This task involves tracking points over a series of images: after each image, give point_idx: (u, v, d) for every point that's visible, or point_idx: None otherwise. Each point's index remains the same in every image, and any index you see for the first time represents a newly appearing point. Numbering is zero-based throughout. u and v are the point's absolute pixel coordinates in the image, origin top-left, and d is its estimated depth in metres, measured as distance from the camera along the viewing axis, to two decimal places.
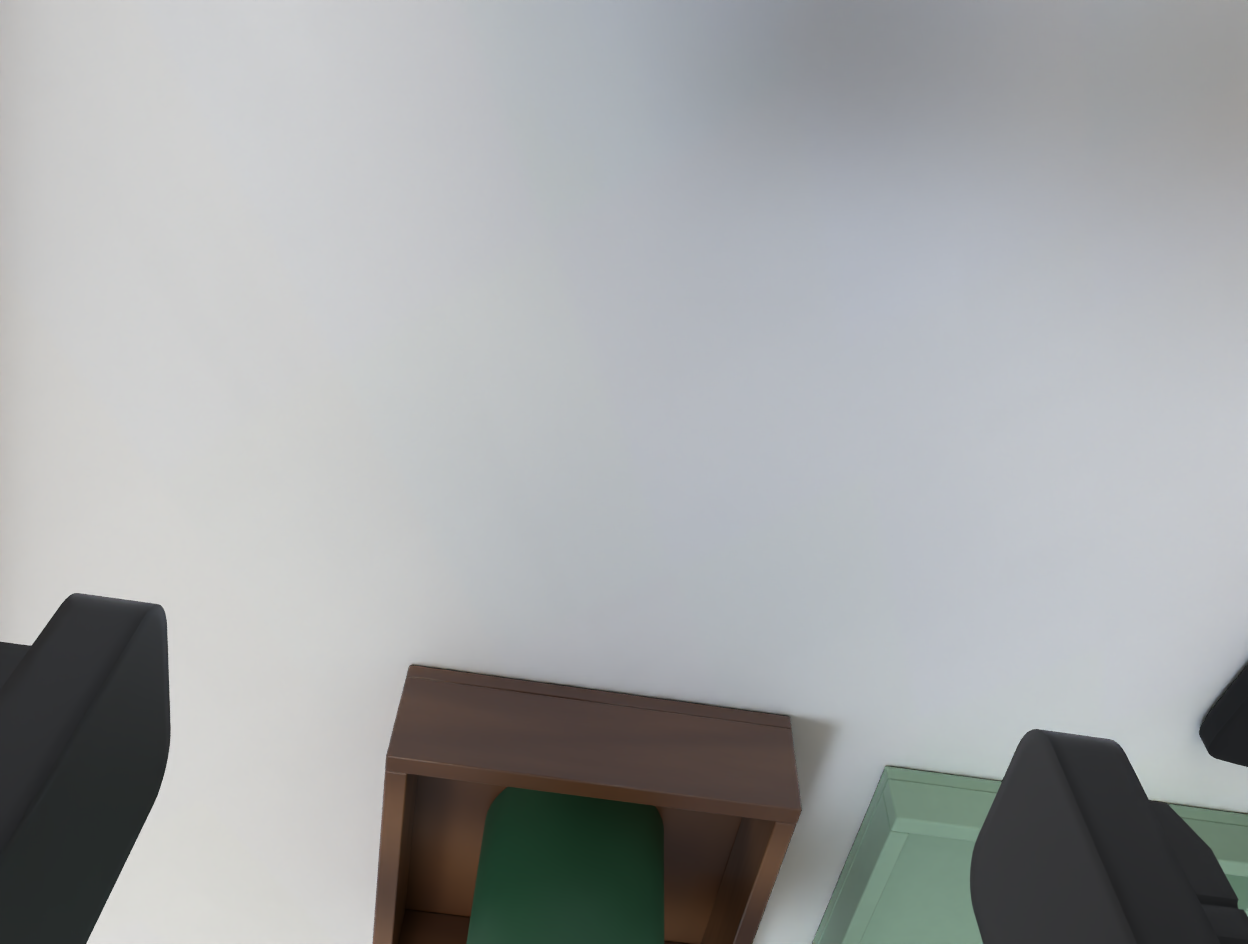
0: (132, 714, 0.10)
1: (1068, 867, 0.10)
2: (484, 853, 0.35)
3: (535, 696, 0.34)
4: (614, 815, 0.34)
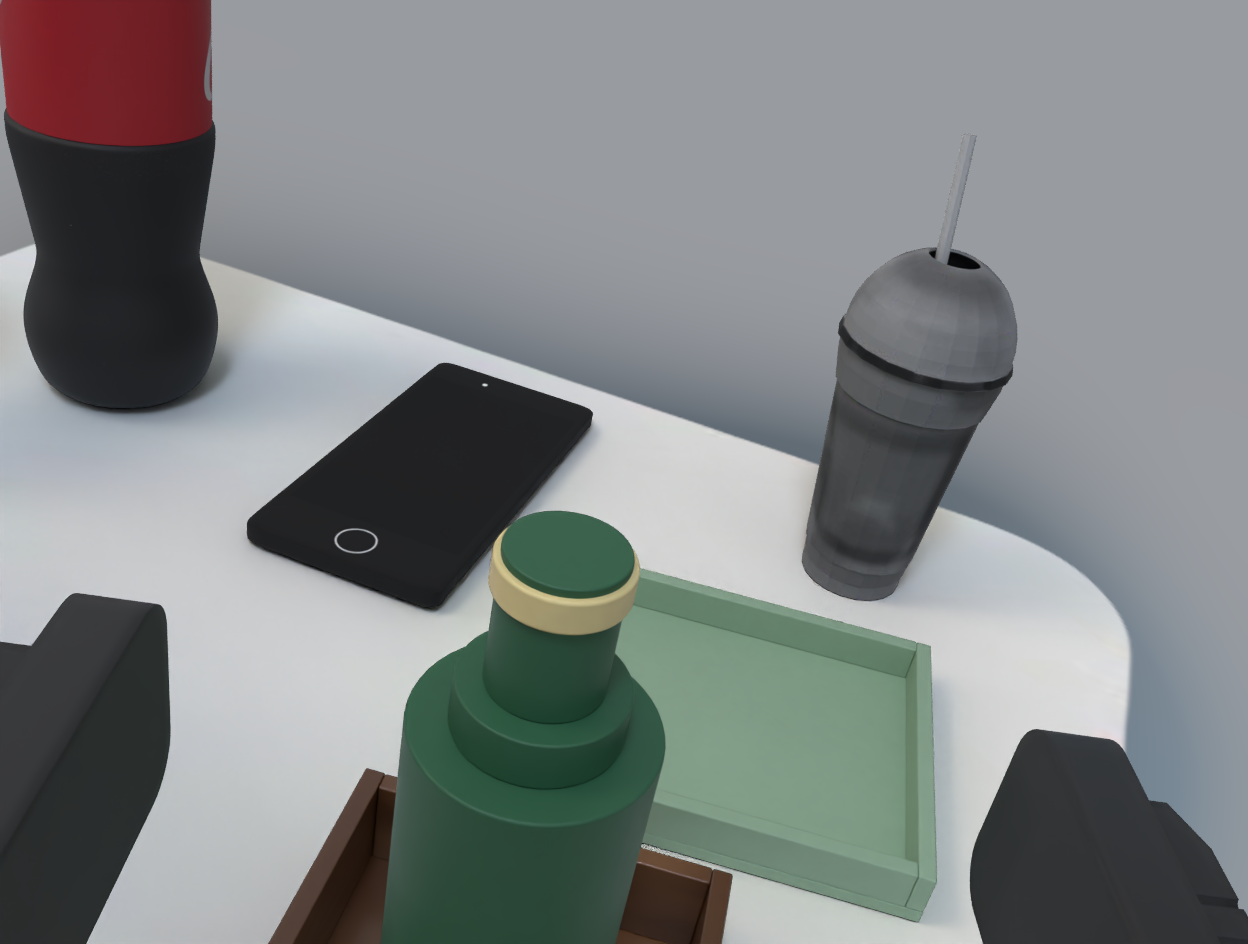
0: (132, 714, 0.10)
1: (1068, 867, 0.10)
2: None
3: None
4: None
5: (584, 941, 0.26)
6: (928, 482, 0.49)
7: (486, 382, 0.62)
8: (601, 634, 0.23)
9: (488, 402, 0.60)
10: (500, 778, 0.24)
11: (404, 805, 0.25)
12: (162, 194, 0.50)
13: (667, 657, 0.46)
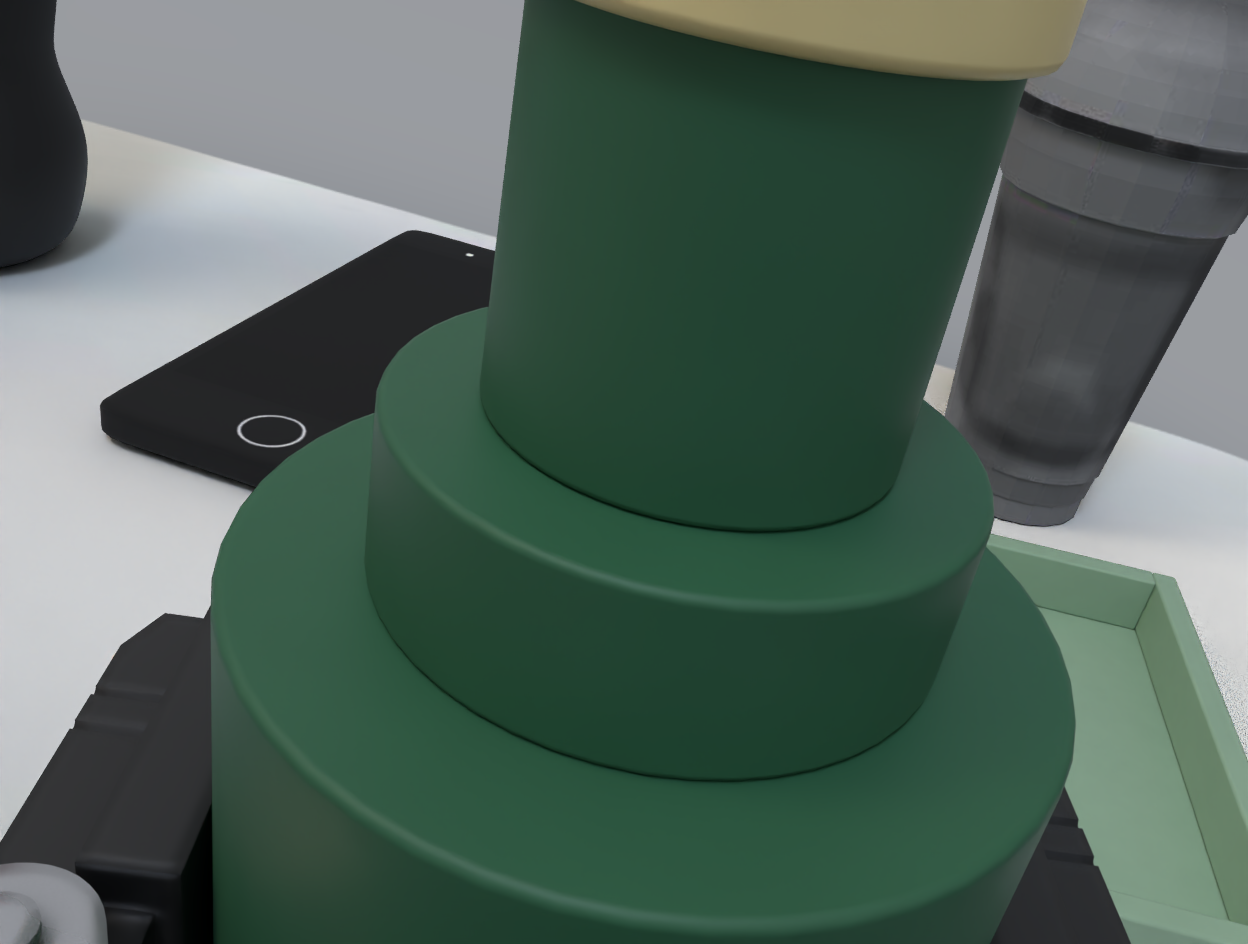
0: None
1: None
2: None
3: None
4: None
5: None
6: (1152, 331, 0.32)
7: (472, 252, 0.45)
8: (976, 123, 0.05)
9: (475, 273, 0.43)
10: (551, 744, 0.06)
11: (222, 850, 0.07)
12: None
13: None
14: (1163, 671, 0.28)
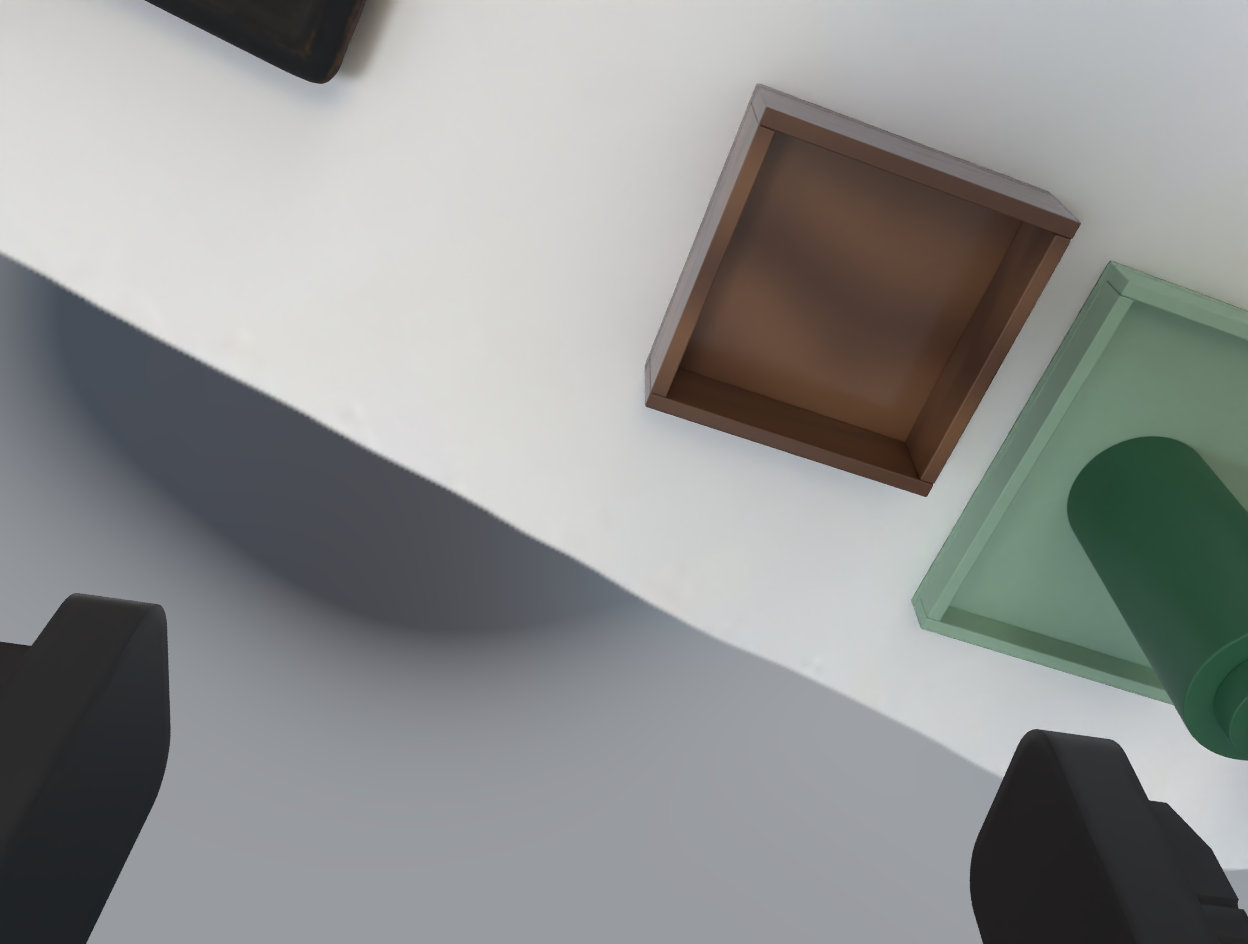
0: (132, 712, 0.10)
1: (1068, 866, 0.10)
2: (1106, 485, 0.45)
3: (857, 126, 0.40)
4: (1210, 468, 0.45)
5: (1141, 648, 0.41)
6: None
7: None
8: None
9: None
10: (1231, 673, 0.37)
11: (1246, 596, 0.37)
12: None
13: (1230, 476, 0.47)
14: (1114, 663, 0.51)
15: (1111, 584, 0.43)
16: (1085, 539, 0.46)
